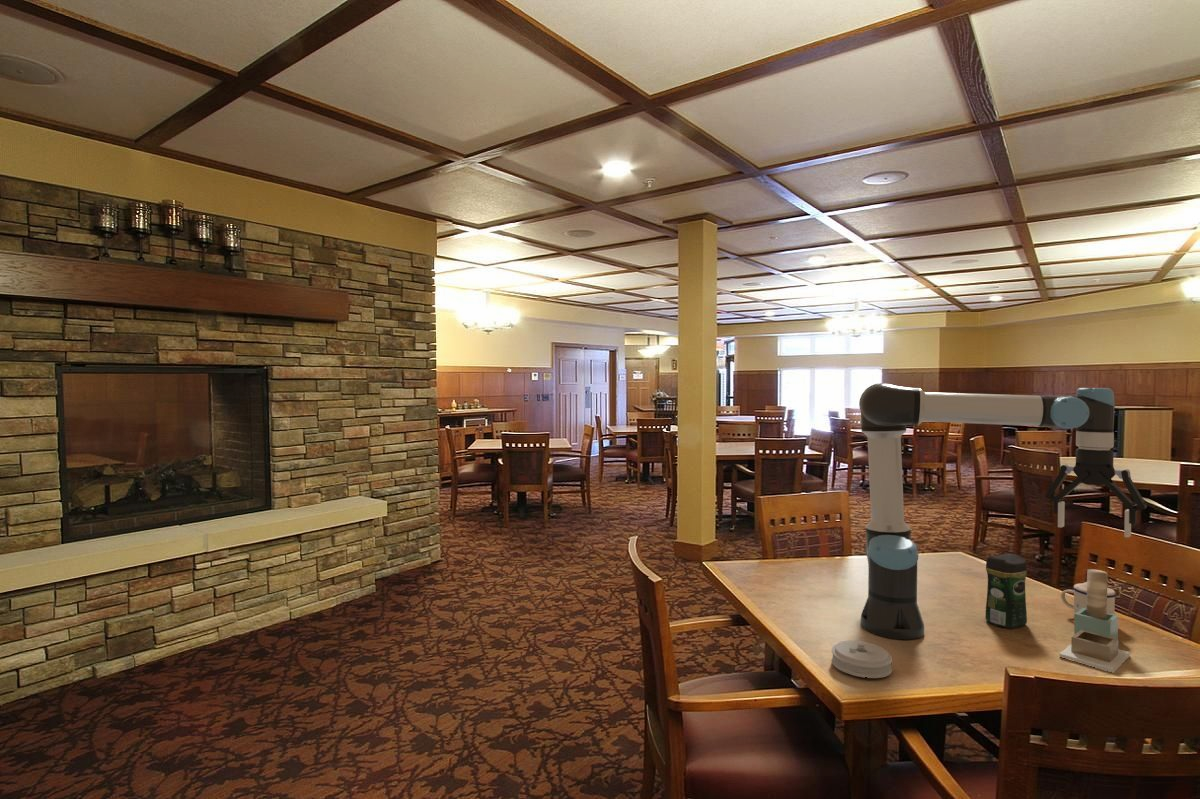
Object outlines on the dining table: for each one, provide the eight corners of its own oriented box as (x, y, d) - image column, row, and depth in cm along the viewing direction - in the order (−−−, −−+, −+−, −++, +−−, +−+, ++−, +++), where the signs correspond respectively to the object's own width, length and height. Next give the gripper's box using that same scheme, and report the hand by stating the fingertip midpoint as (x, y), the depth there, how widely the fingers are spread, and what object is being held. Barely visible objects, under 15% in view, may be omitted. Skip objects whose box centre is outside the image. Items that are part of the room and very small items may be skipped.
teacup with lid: (1120, 623, 167) (1121, 580, 167) (1108, 631, 162) (1109, 587, 161) (1067, 610, 177) (1067, 569, 176) (1054, 617, 171) (1055, 575, 171)
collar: (1109, 662, 141) (1110, 647, 141) (1071, 651, 147) (1071, 637, 147) (1118, 654, 146) (1118, 639, 145) (1080, 643, 151) (1080, 629, 151)
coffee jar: (1002, 615, 173) (1004, 549, 172) (1032, 625, 165) (1033, 556, 165) (979, 620, 169) (980, 553, 168) (1007, 631, 162) (1009, 560, 161)
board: (1113, 673, 138) (1113, 668, 138) (1059, 657, 146) (1059, 653, 146) (1129, 656, 147) (1129, 652, 147) (1077, 642, 154) (1077, 638, 154)
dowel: (1103, 642, 154) (1105, 575, 154) (1083, 637, 158) (1085, 571, 157) (1108, 638, 157) (1109, 572, 156) (1088, 633, 160) (1089, 568, 160)
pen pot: (1109, 646, 152) (1110, 622, 152) (1074, 637, 158) (1074, 613, 158) (1117, 639, 157) (1118, 615, 156) (1082, 630, 162) (1083, 607, 162)
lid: (870, 655, 148) (870, 634, 147) (904, 680, 135) (904, 657, 135) (821, 658, 146) (821, 637, 146) (850, 684, 133) (850, 661, 133)
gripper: (1163, 451, 150) (1161, 538, 150) (1041, 444, 169) (1040, 521, 170) (1156, 453, 145) (1154, 543, 146) (1032, 445, 165) (1031, 525, 165)
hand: (1093, 531), depth 158 cm, fingers open, 13 cm apart
